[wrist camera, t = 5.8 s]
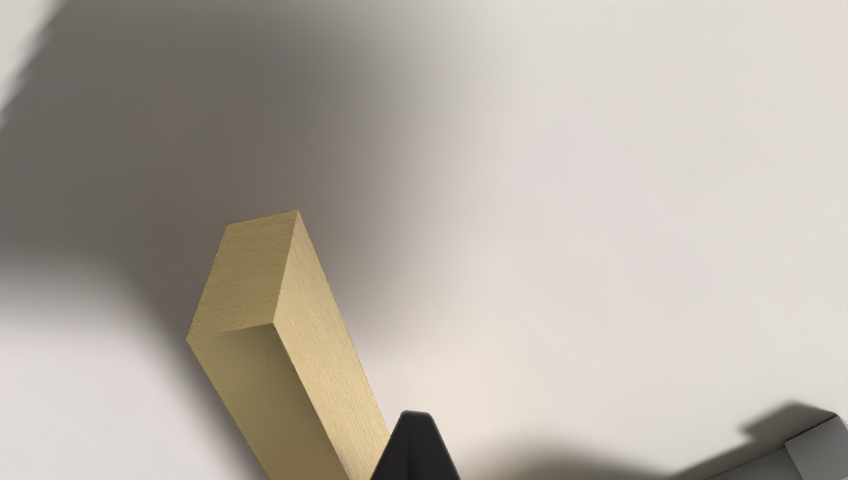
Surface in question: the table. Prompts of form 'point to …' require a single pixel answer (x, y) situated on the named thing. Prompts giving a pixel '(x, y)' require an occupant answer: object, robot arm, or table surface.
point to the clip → (285, 355)
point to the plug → (764, 468)
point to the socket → (822, 451)
